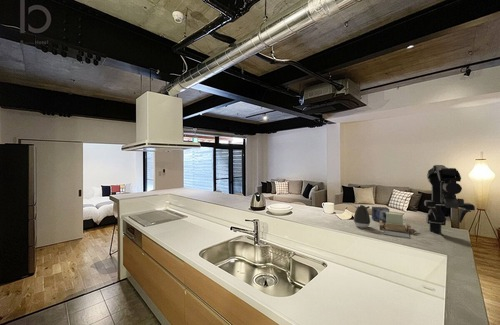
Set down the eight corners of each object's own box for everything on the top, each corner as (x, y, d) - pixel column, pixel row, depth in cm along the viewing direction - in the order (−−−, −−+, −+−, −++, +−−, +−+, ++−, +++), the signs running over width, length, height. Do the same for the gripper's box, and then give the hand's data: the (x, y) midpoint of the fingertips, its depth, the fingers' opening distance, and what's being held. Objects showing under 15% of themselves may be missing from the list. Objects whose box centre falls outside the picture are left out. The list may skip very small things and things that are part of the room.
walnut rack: (379, 224, 151) (379, 220, 151) (409, 228, 142) (409, 223, 142) (379, 230, 138) (379, 225, 138) (412, 234, 129) (412, 229, 129)
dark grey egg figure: (373, 229, 140) (373, 206, 140) (358, 229, 140) (358, 206, 140) (365, 224, 150) (365, 203, 150) (351, 224, 150) (351, 203, 150)
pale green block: (386, 226, 146) (386, 212, 146) (402, 228, 141) (402, 213, 141) (386, 227, 143) (386, 213, 143) (402, 229, 138) (402, 214, 138)
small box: (373, 221, 157) (373, 207, 158) (371, 219, 164) (371, 206, 164) (389, 223, 154) (389, 208, 154) (386, 220, 160) (386, 207, 160)
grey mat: (383, 231, 135) (383, 230, 135) (408, 235, 128) (408, 234, 128) (383, 234, 129) (383, 233, 129) (410, 238, 122) (410, 237, 122)
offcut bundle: (385, 229, 139) (385, 223, 139) (405, 232, 134) (405, 225, 134) (385, 230, 138) (385, 223, 138) (405, 233, 132) (405, 226, 132)
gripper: (427, 192, 108) (428, 222, 108) (479, 195, 98) (479, 228, 98) (423, 190, 117) (424, 217, 117) (470, 192, 108) (470, 222, 107)
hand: (448, 221), depth 110 cm, fingers open, 9 cm apart
